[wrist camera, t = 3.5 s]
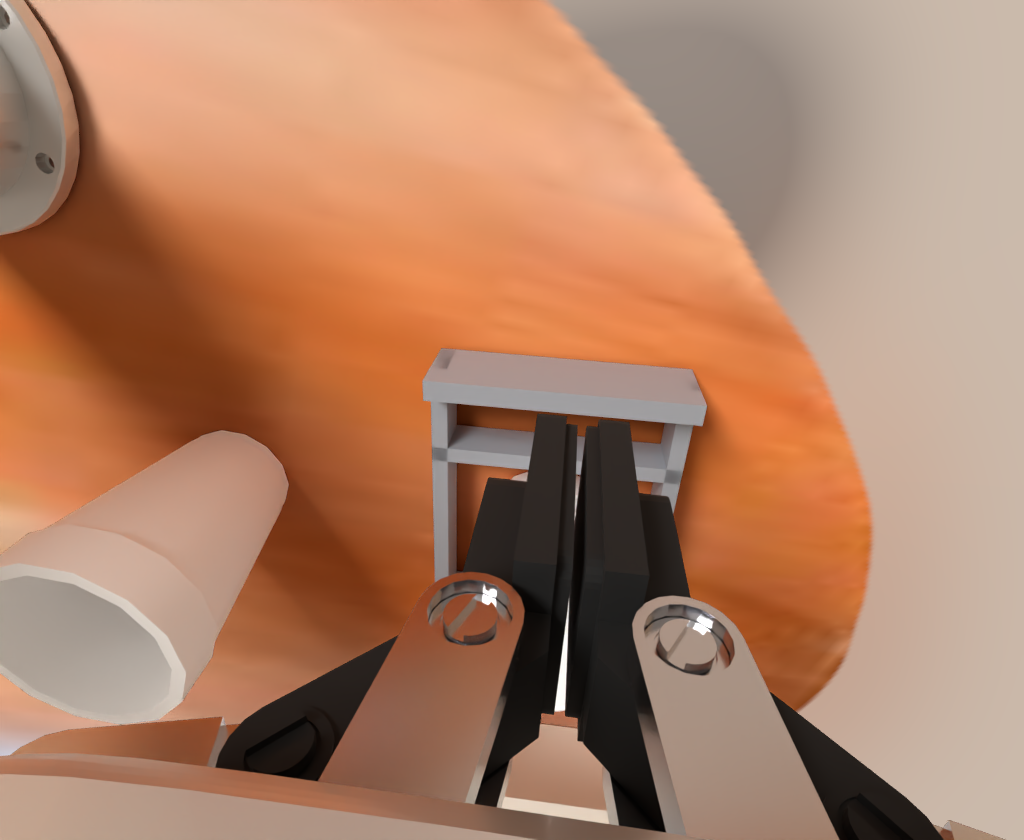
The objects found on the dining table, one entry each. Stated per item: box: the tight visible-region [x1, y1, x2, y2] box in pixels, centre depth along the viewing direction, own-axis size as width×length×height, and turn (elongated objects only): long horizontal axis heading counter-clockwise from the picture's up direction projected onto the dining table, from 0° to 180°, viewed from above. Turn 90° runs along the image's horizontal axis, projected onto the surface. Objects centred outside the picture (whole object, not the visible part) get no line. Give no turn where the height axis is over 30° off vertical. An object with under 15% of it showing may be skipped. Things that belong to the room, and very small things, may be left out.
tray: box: [423, 348, 707, 582], centre depth 31 cm, size 16×13×4 cm
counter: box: [501, 724, 609, 824], centre depth 35 cm, size 13×16×13 cm
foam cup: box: [0, 430, 289, 725], centre depth 30 cm, size 10×9×13 cm
